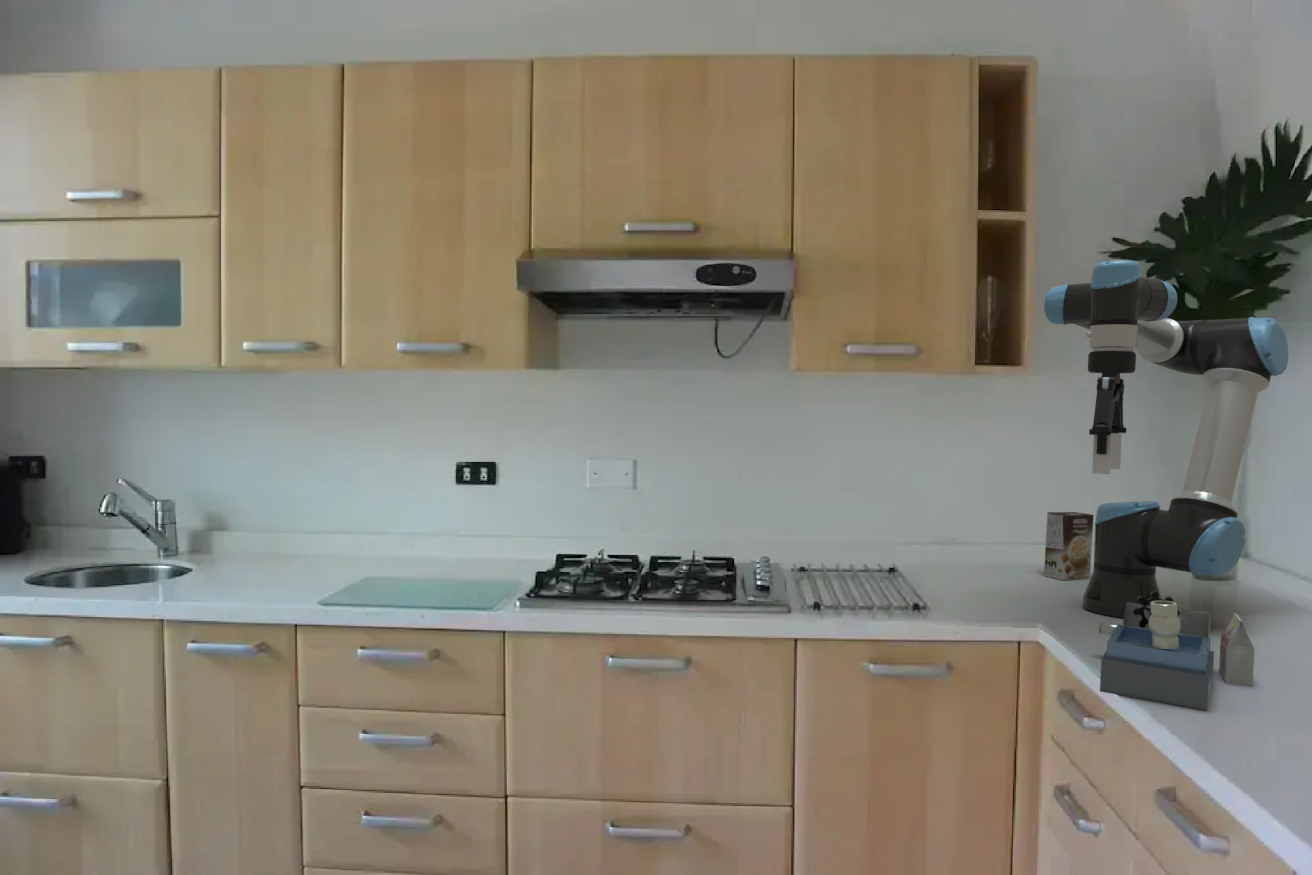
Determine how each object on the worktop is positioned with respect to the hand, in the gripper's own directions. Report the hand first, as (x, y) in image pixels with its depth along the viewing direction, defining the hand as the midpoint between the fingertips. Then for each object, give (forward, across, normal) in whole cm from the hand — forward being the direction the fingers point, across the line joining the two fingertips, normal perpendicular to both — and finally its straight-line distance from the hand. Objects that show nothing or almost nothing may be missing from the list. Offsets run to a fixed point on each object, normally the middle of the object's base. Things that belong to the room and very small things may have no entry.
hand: (1106, 471), depth 163 cm
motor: (+32, +14, +9) cm, 36 cm away
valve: (+24, +20, +11) cm, 33 cm away
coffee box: (+32, -67, -16) cm, 76 cm away
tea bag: (+32, +6, +21) cm, 39 cm away
